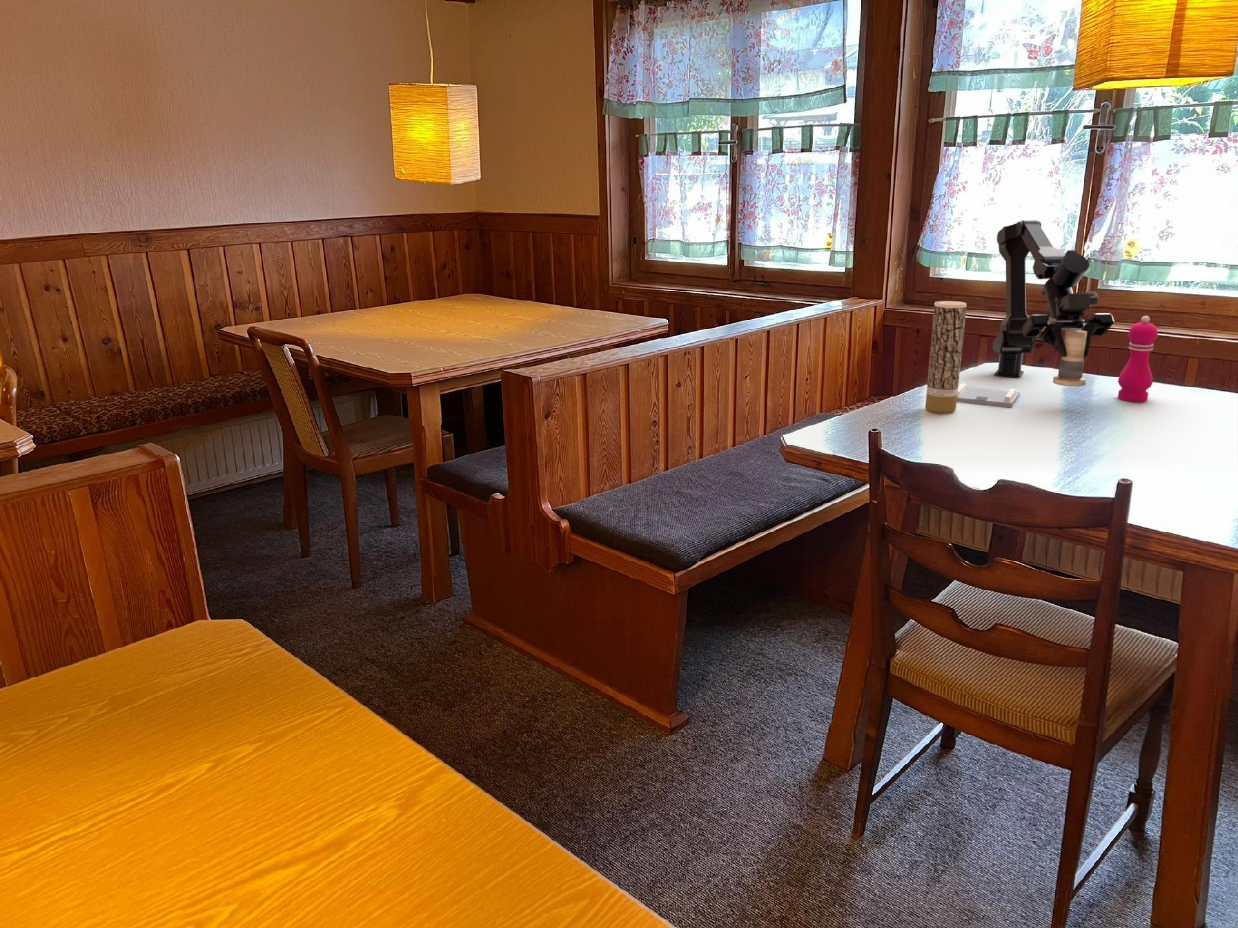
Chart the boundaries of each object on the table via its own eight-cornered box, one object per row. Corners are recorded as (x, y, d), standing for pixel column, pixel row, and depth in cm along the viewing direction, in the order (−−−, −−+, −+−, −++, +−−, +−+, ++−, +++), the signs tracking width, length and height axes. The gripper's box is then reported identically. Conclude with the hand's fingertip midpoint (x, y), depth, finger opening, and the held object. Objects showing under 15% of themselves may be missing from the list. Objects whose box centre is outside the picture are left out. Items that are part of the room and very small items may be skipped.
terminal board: (960, 390, 230) (960, 381, 229) (1019, 396, 223) (1020, 387, 222) (949, 400, 220) (950, 392, 219) (1011, 407, 213) (1012, 398, 213)
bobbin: (1054, 378, 214) (1061, 328, 210) (1086, 381, 211) (1094, 330, 207) (1051, 384, 209) (1058, 333, 205) (1083, 387, 205) (1091, 335, 202)
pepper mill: (1115, 400, 217) (1128, 317, 211) (1115, 393, 223) (1128, 312, 217) (1149, 403, 214) (1164, 319, 207) (1149, 396, 220) (1163, 314, 213)
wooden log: (959, 414, 209) (971, 305, 201) (930, 414, 209) (940, 306, 201) (950, 406, 215) (960, 300, 207) (921, 407, 215) (930, 301, 207)
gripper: (1034, 279, 206) (1048, 336, 199) (1116, 278, 206) (1134, 335, 199) (1016, 308, 216) (1029, 364, 209) (1095, 307, 216) (1110, 362, 209)
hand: (1075, 356), depth 206 cm, fingers closed on bobbin, 4 cm apart
